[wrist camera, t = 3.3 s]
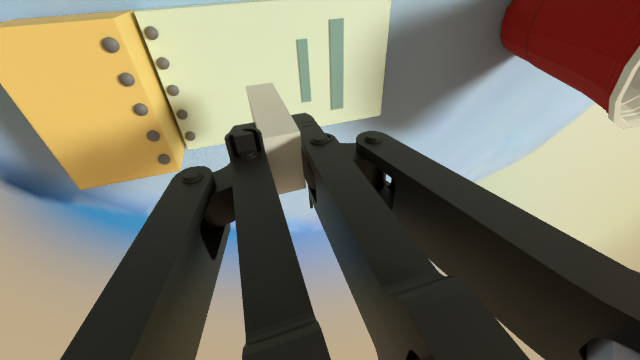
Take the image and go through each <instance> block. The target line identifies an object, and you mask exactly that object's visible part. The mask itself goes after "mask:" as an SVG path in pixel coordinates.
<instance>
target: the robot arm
mask: <svg viewBox="0 0 640 360" xmlns="http://www.w3.org/2000/svg"><path fill="white" fill-rule="evenodd" d="M245 87H246V91H247V96H248V101H249V105H250V110H251V115H252V119H253V122H252V123H247V124H241V125H235V126H233V127H232V129H231V130H230V132H229V133H228V134H227V135H225V138H224V140H225V143H226V147H227V150H228V153H229V157H230V163H229V164H228V165H227V166H226V167H224V168H222V169H220V170H218V171H216V172H213V173H212V171H211V170H210V169H209V168H207V167H204V166H196V167H190V168H188V169H184V170H183V171H181V172H179V173H178V174H176V175H175V176H174V178H173V179H172V180H171V182H170V184H169V185H168V187H167V188H166V190H165V192H164V193H163V195H162V196H161V198H160V200H159V201H158V203H157V205H156V206H155V208H154V209H153V211H152V213H151V214H150V216H149V217H148V219H147V221H146V222H145V224H144V225H143V227H142V229H141V230H140V232H139V233H138V235H137V237H136V238H135V240H134V242H133V243H132V245H131V246H130V248H129V250H128V251H127V253H126V255H125V256H124V258H123V259H122V261H121V263H120V264H119V266H118V267H117V269H116V271H115V272H114V274H113V276H112V277H111V279H110V280H109V282H108V283H107V285H106V287H105V288H104V290H103V291H102V293H101V295H100V296H99V298H98V300H97V301H96V303H95V304H94V306H93V308H92V309H91V311H90V312H89V314H88V316H87V317H86V319H85V321H84V322H83V324H82V326H81V327H80V329H79V330H78V332H77V333H76V335H75V337H74V338H73V340H72V341H71V343H70V345H69V346H68V348H67V349H66V351H65V353H64V354H63V356H62V358H61V359H60V360H195V357H196V354H197V351H198V347H199V343H200V339H201V336H202V332H203V328H204V325H205V321H206V317H207V313H208V310H209V306H210V302H211V298H212V295H213V291H214V287H215V284H216V280H217V276H218V273H219V269H220V265H221V262H222V258H223V254H224V250H225V247H226V243H227V239H228V235H229V232H230V223H231V222H233V221H235V220H236V231H237V242H238V254H239V265H240V275H241V287H242V298H243V309H244V320H245V332H246V344H245V346H244V348H243V353H242V354H243V355H242V360H331V359H330V356H329V352H328V349H327V346H326V343H325V340H324V336H323V333H322V330H321V328H320V325H319V323H318V321H317V320H316V318H315V315H314V312H313V309H312V306H311V303H310V299H309V296H308V293H307V289H306V286H305V283H304V279H303V276H302V273H301V269H300V266H299V263H298V260H297V256H296V252H295V249H294V246H293V243H292V239H291V236H290V232H289V229H288V226H287V222H286V219H285V216H284V212H283V209H282V206H281V202H280V199H279V196H278V195H279V194H283V193H287V192H291V191H296V190H300V189H304V188H306V182H307V184H308V190H309V200H310V208H313V205H314V208H315V210H316V212H317V214H318V217H319V219H320V221H321V224H322V226H323V228H324V231H325V232H326V235H327V237H328V240H329V242H330V244H331V247H332V249H333V251H334V254H335V256H336V258H337V260H338V263H339V265H340V267H341V270H342V272H343V274H344V277H345V279H346V281H347V283H348V285H349V288H350V290H351V293H352V295H353V297H354V300H355V302H356V304H357V306H358V309H359V311H360V313H361V316H362V318H363V320H364V323H365V325H366V327H367V330H368V332H369V334H370V336H371V338H372V341H373V343H374V346H375V348H376V351H377V355H378V359H379V360H530V359H529V358H528V357H527V356H526V355H525V353H524V352H523V351H522V350H521V349H520V347H519V346H518V345H517V344H516V343H515V341H514V340H513V339H512V338H511V337H510V335H509V334H508V333H507V332H506V331H505V329H504V328H503V327H502V326H501V324H500V323H499V322H498V321H497V320H496V319H498V320H499V321H500V322H501V323H502V324H503V325H504V326H505V327H507V328H508V329H509V330H510V331H511V332H512V333H514V334H515V335H516V336H517V337H518V338H519V339H520V340H522V341H523V342H524V343H525V344H527V345H528V346H529V347H530V348H531V349H533V350H534V351H535V352H536V353H537V354H539V355H540V356H541V357H543V358H544V359H545V360H640V273H639V272H636V271H634V270H631V269H629V268H627V267H625V266H624V265H621V264H620V263H618V262H616V261H614V260H613V259H611V258H609V257H607V256H605V255H604V254H602V253H600V252H598V251H596V250H595V249H593V248H591V247H589V246H587V245H586V244H584V243H582V242H580V241H578V240H576V239H575V238H573V237H571V236H569V235H567V234H566V233H564V232H562V231H560V230H558V229H556V228H555V227H553V226H551V225H549V224H547V223H546V222H544V221H542V220H540V219H538V218H537V217H535V216H533V215H531V214H529V213H528V212H526V211H524V210H522V209H520V208H518V207H517V206H515V205H513V204H511V203H509V202H508V201H506V200H504V199H502V198H500V197H499V196H497V195H495V194H493V193H491V192H489V191H488V190H486V189H484V188H482V187H481V186H479V185H477V184H475V183H473V182H471V181H470V180H468V179H466V178H464V177H462V176H461V175H459V174H457V173H455V172H453V171H452V170H450V169H448V168H446V167H444V166H442V165H441V164H439V163H437V162H435V161H433V160H432V159H430V158H428V157H426V156H424V155H423V154H421V153H419V152H417V151H415V150H414V149H412V148H410V147H408V146H406V145H404V144H403V143H401V142H399V141H397V140H395V139H394V138H392V137H390V136H388V135H386V134H384V133H381V132H376V131H367V132H363V133H361V134H359V135H358V136H357V137H356V143H339V141H338V140H337V139H336V137H334V136H333V135H331V134H328V133H324V132H323V131H322V129H321V128H320V126H319V125H318V124H317V122H316V121H315V119H314V118H313V117H312V116H311V115H309V114H307V113H300V114H294V115H290V113H289V111H288V109H287V108H286V106H285V104H284V102H283V100H282V99H281V97H280V95H279V93H278V92H277V90H276V88H275V86H274V85H273V83H265V84H258V85H251V86H245ZM386 174H387V175H389V176H390V177H391V178H392V180H391V183H389V182H388V181H386ZM305 179H306V182H305ZM429 260H430V261H432V262H433V263H434V264H435V265H436V266H437V267H438V268H440V269H441V270H442V271H443V272H444V273H445V274H446V275H448V276H443V275H441V274H440V273H439V272H438V271H437V270H436V268H435V267H434V266H433V264H432V263H431V262H430V261H429Z"/></svg>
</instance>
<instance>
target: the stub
mask: <svg viewBox="0 0 640 360" xmlns="http://www.w3.org/2000/svg"><path fill="white" fill-rule="evenodd" d="M0 84H1V85H2V86H3V88H4V89H5V90H6V92H7V93H8V94H9V96H10V97H11V98H12V100H13V101H14V102H15V104H16V105H17V106H18V108H19V109H20V110H21V112H22V113H23V114H24V116H25V117H26V118H27V120H28V121H29V122H30V124H31V125H32V126H33V128H34V129H35V130H36V132H37V133H38V134H39V136H40V137H41V138H42V140H43V141H44V142H45V144H46V145H47V146H48V148H49V149H50V150H51V152H52V153H53V154H54V156H55V157H56V158H57V160H58V161H59V162H60V164H61V165H62V166H63V168H64V169H65V170H66V172H67V173H68V174H69V176H70V177H71V178H72V180H73V181H74V182H75V184H76V185H77V186H78V188H79V189H80V190H82V189H87V188H93V187H98V186H103V185H108V184H113V183H119V182H124V181H129V180H134V179H140V178H145V177H150V176H155V175H160V174H166V173H171V172H176V171H180V169H181V164H182V159H183V153H184V148H185V141H184V138H183V136H182V133H181V130H180V128H179V125H178V123H177V120H176V118H175V115H174V113H173V110H172V108H171V105H170V103H169V100H168V97H167V95H166V92H165V90H164V87H163V85H162V82H161V80H160V77H159V75H158V72H157V69H156V67H155V64H154V62H153V59H152V57H151V54H150V52H149V49H148V47H147V44H146V42H145V39H144V36H143V34H142V31H141V29H140V26H139V24H138V21H137V19H136V16H135V14H134V11H133V10H129V11H116V12H104V13H91V14H78V15H65V16H53V17H40V18H27V19H14V20H9V21H5V22H0Z"/></svg>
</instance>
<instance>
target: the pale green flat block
mask: <svg viewBox="0 0 640 360" xmlns="http://www.w3.org/2000/svg"><path fill="white" fill-rule="evenodd" d="M390 8H391V0H252V1H239V2H226V3H214V4H201V5H188V6H175V7H162V8H150V9H139V10H137V11H135V12H134V13H135V16H136V18H137V21H138V23H139V26H140V29H141V31H142V34H143V36H144V39H145V41H146V44H147V46H148V49H149V51H150V54H151V56H152V59H153V62H154V64H155V67H156V69H157V72H158V74H159V77H160V79H161V82H162V84H163V87H164V90H165V92H166V95H167V97H168V100H169V102H170V105H171V107H172V110H173V112H174V115H175V117H176V120H177V123H178V125H179V128H180V130H181V133H182V135H183V138H184V140H185V143H186V145H187V148H188V150H190V149H195V148H201V147H207V146H212V145H218V144H224V143H225V140H224V138H225V135H227V134H228V133H229V132H230V130H231V129H232V127H233V126H235V125H241V124H247V123H252V122H253V119H252V115H251V110H250V105H249V101H248V96H247V91H246V87H245V86H251V85H258V84H265V83H273V85H274V86H275V88H276V90H277V92H278V93H279V95H280V97H281V99H282V100H283V102H284V104H285V106H286V108H287V109H288V111H289V113H290V115H294V114H300V113H307V114H309V115H311V116H312V117H313V118H314V119H315V121H316V122H317V124H318V125H319V126H325V125H330V124H336V123H341V122H347V121H353V120H358V119H364V118H370V117H375V116H380V115H381V104H382V94H383V83H384V72H385V62H386V51H387V40H388V29H389V19H390Z"/></svg>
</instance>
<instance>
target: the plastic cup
mask: <svg viewBox="0 0 640 360" xmlns="http://www.w3.org/2000/svg"><path fill="white" fill-rule="evenodd" d="M501 39H502V42H503V45H504V47H505V48H507V49H508V50H509V51H510V52H512V53H513V54H515V55H516V56H518V57H520V58H522V59H524V60H526V61H528V62H529V63H531V64H532V65H534V66H535V67H537V68H538V69H540V70H542V71H544V72H546V73H547V74H549V75H551V76H553V77H555V78H557V79H558V80H560V81H562V82H564V83H566V84H567V85H569V86H571V87H573V88H575V89H576V90H578V91H580V92H582V93H583V94H585V95H586V96H587V97H589V98H590V99H592V100H593V101H594V102H596V103H597V104H598V105H600V106H601V107H602V108H603V109H605V110H606V112H607V113H608V117H609V119H610V120H612V121H613V122H614V123H616V124H617V125H618V126H620V127H621V128H622V129H627V128H632V127H637V126H640V0H513V1H512V3H511V4H510V6H509V7H508V9H507V11H506V14H505V17H504V20H503V22H502V27H501Z"/></svg>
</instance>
